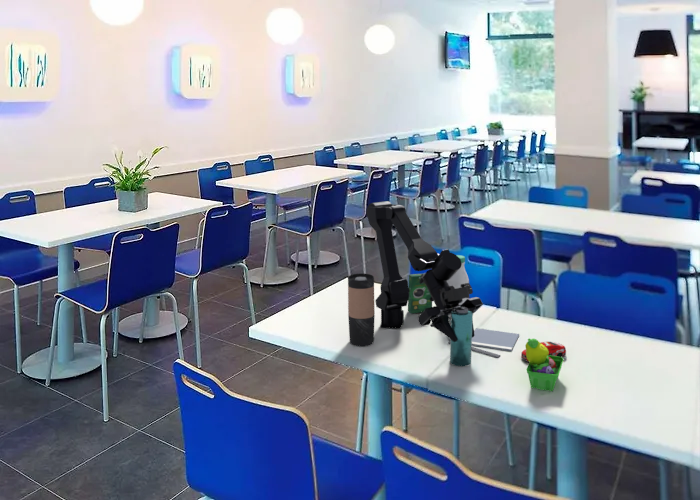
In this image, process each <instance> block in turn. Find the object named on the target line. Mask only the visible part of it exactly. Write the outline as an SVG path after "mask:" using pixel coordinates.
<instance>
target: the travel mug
mask: <svg viewBox="0 0 700 500" xmlns="http://www.w3.org/2000/svg"><path fill="white" fill-rule="evenodd" d="M347 302H348V303H347V304H348V305H347V309H348V314H347V316H348V333H349V334H348V335H349V337H348V338H349V343H350V344H351V345H352V346H354V347H359V348H361V347H369V346H371V345H373V344H374V342H375V317H376V315H375V276H374V275H372V274H370V273H352V274H350V275H348V276H347Z"/></svg>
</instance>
